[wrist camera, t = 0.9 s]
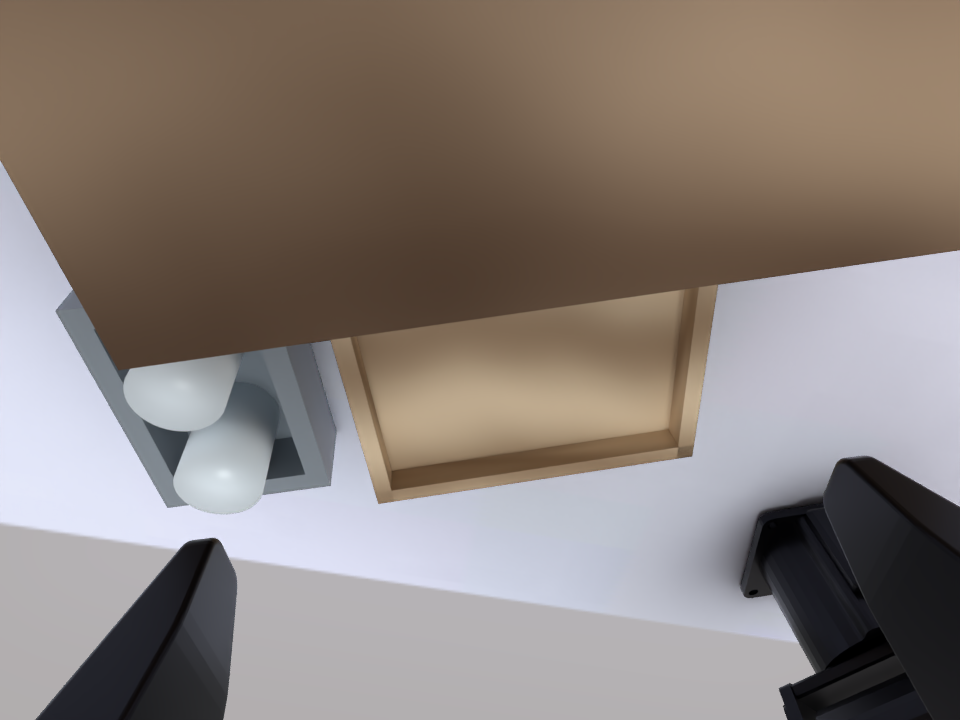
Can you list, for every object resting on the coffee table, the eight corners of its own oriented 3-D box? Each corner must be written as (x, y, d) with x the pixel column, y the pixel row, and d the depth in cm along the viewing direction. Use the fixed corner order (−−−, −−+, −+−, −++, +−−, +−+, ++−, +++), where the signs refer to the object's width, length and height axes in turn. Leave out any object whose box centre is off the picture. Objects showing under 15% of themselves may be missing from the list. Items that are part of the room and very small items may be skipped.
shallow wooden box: (1038, 369, 26) (1186, 478, 21) (379, 468, 25) (376, 605, 20) (1195, 87, 19) (1462, 150, 14) (306, 208, 18) (276, 318, 14)
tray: (336, 427, 24) (327, 519, 21) (190, 446, 24) (153, 543, 20) (281, 237, 19) (256, 314, 16) (97, 259, 19) (29, 342, 16)
